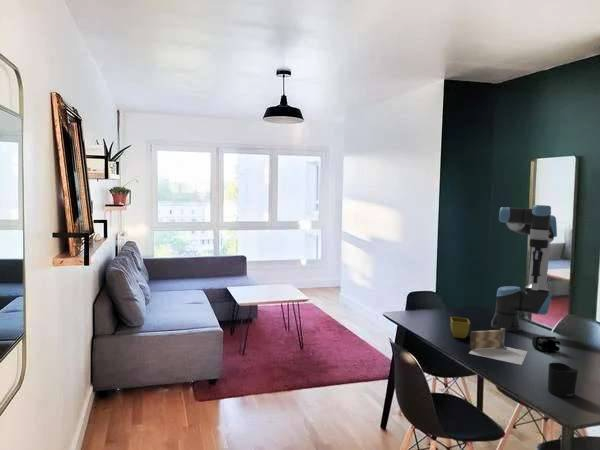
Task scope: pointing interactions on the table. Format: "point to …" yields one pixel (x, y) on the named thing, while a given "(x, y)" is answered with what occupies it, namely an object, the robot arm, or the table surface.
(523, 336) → the table surface
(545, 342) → the end cap
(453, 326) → the flower pot
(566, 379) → the pen holder
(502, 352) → the base
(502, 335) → the gate
